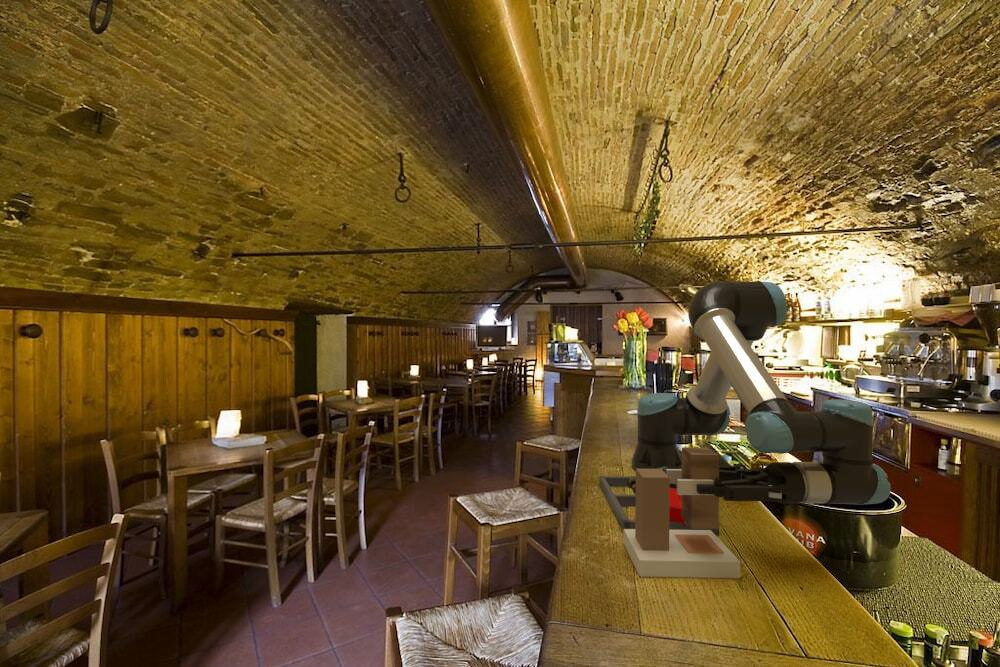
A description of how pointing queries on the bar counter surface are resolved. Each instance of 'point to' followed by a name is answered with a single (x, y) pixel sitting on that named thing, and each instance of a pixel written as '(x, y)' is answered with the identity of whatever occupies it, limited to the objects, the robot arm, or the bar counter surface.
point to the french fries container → (675, 507)
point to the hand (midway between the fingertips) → (672, 481)
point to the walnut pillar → (700, 507)
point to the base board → (671, 538)
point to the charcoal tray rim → (631, 503)
